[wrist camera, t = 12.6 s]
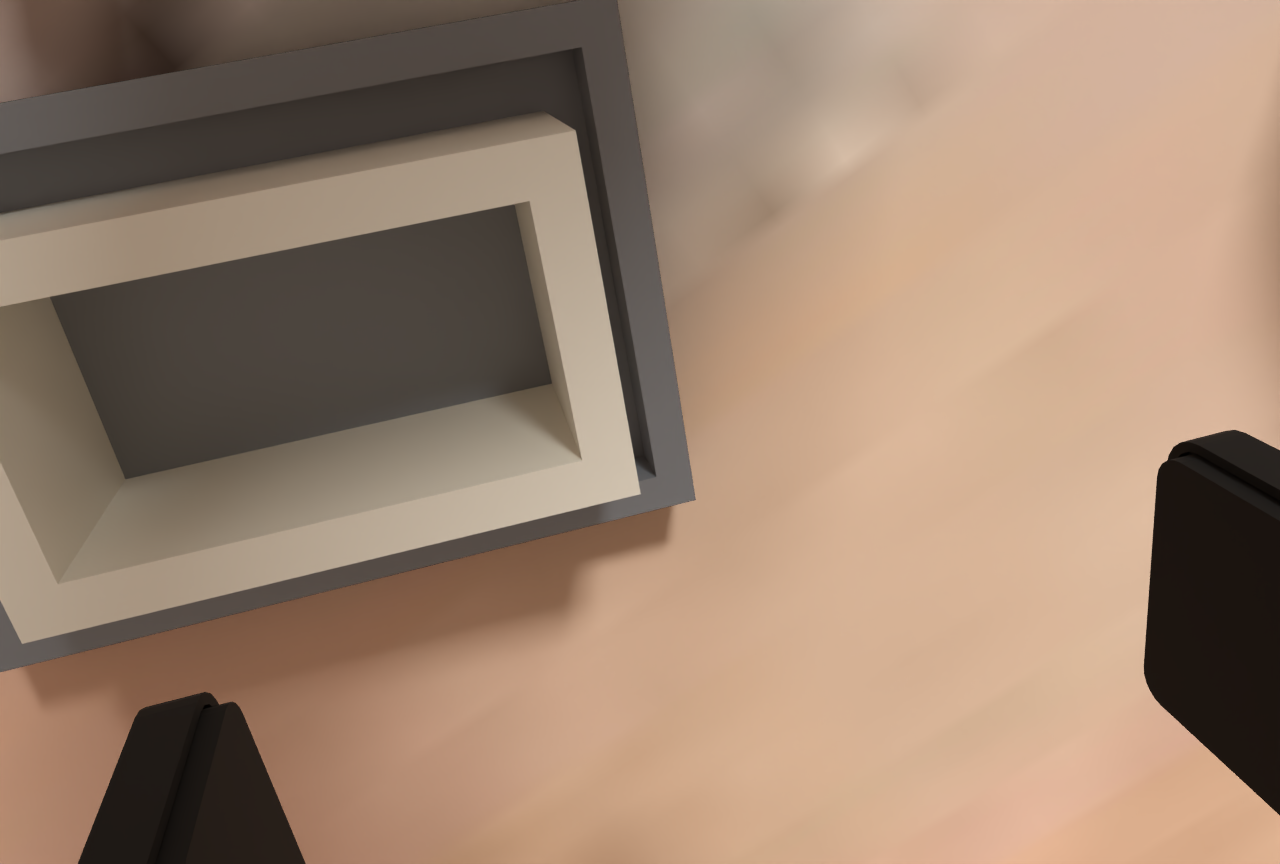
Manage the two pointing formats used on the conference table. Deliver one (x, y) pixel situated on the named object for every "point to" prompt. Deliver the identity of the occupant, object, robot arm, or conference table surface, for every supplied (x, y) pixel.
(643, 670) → the conference table surface
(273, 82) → the tray
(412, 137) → the collar
